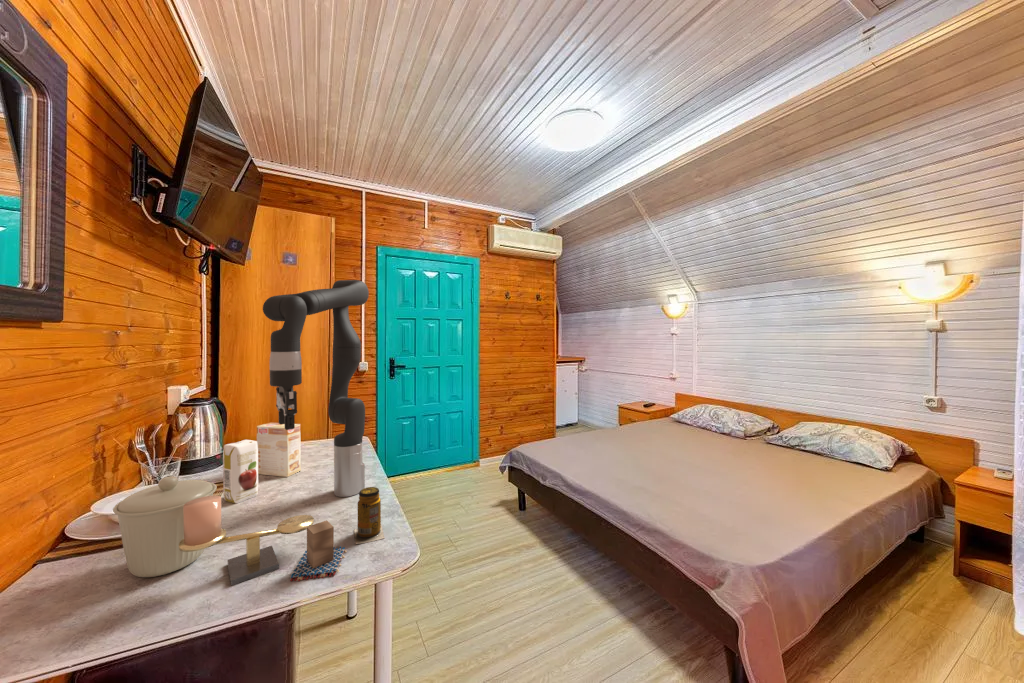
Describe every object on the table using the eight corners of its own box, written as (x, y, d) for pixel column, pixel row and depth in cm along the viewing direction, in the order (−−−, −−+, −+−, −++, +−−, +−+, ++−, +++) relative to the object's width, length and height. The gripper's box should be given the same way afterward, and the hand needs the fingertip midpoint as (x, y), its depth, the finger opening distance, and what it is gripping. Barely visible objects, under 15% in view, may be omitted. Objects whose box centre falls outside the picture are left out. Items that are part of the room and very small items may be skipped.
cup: (220, 527, 85) (220, 493, 85) (222, 538, 80) (222, 502, 80) (183, 537, 81) (183, 501, 81) (183, 549, 76) (183, 511, 76)
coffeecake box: (301, 471, 149) (301, 423, 149) (287, 477, 142) (286, 427, 142) (271, 468, 153) (271, 421, 152) (256, 474, 146) (255, 425, 146)
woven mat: (286, 586, 81) (286, 577, 81) (303, 558, 91) (302, 550, 91) (337, 579, 83) (337, 570, 83) (347, 552, 94) (347, 544, 94)
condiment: (381, 524, 107) (380, 483, 106) (384, 538, 99) (384, 494, 99) (354, 530, 103) (353, 488, 103) (355, 545, 96) (355, 500, 96)
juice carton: (220, 501, 121) (219, 444, 121) (247, 491, 129) (246, 438, 129) (234, 505, 119) (234, 447, 118) (261, 494, 127) (261, 440, 126)
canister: (157, 594, 78) (156, 495, 77) (90, 584, 81) (89, 489, 81) (235, 546, 95) (234, 466, 95) (178, 539, 99) (177, 462, 98)
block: (326, 552, 90) (326, 520, 90) (333, 560, 87) (333, 526, 87) (306, 560, 87) (306, 526, 87) (313, 568, 84) (313, 534, 84)
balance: (308, 538, 99) (308, 500, 99) (318, 554, 92) (318, 513, 92) (179, 580, 82) (179, 535, 82) (178, 604, 74) (178, 554, 74)
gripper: (307, 368, 98) (307, 429, 98) (295, 365, 108) (296, 420, 109) (274, 370, 93) (275, 434, 93) (265, 367, 103) (266, 424, 104)
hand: (286, 426), depth 101 cm, fingers open, 8 cm apart
